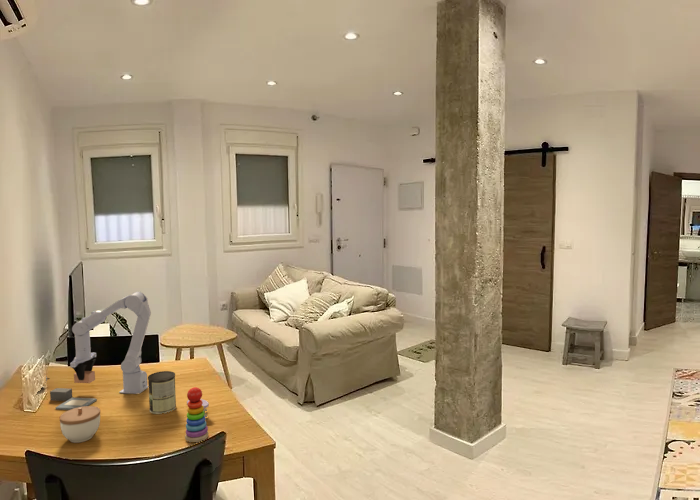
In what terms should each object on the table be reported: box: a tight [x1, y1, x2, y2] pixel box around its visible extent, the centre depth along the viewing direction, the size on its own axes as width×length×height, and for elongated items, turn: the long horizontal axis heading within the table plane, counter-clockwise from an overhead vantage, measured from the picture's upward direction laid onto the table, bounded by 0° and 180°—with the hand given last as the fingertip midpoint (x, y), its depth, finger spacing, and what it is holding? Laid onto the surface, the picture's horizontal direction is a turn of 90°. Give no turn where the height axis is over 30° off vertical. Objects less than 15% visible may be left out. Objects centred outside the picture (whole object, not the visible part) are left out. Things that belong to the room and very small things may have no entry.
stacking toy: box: [184, 386, 209, 443], centre depth 167 cm, size 8×8×19 cm
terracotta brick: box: [73, 370, 96, 384], centre depth 208 cm, size 7×4×4 cm, turn 84°
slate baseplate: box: [55, 396, 98, 411], centre depth 196 cm, size 11×10×1 cm
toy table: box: [186, 398, 209, 417], centre depth 186 cm, size 10×9×6 cm
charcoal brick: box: [49, 387, 73, 402], centre depth 202 cm, size 7×4×4 cm, turn 84°
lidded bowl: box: [59, 405, 101, 444], centre depth 168 cm, size 13×13×11 cm
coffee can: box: [147, 370, 177, 415], centre depth 192 cm, size 10×10×14 cm
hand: (84, 377), depth 208 cm, fingers closed on terracotta brick, 4 cm apart
